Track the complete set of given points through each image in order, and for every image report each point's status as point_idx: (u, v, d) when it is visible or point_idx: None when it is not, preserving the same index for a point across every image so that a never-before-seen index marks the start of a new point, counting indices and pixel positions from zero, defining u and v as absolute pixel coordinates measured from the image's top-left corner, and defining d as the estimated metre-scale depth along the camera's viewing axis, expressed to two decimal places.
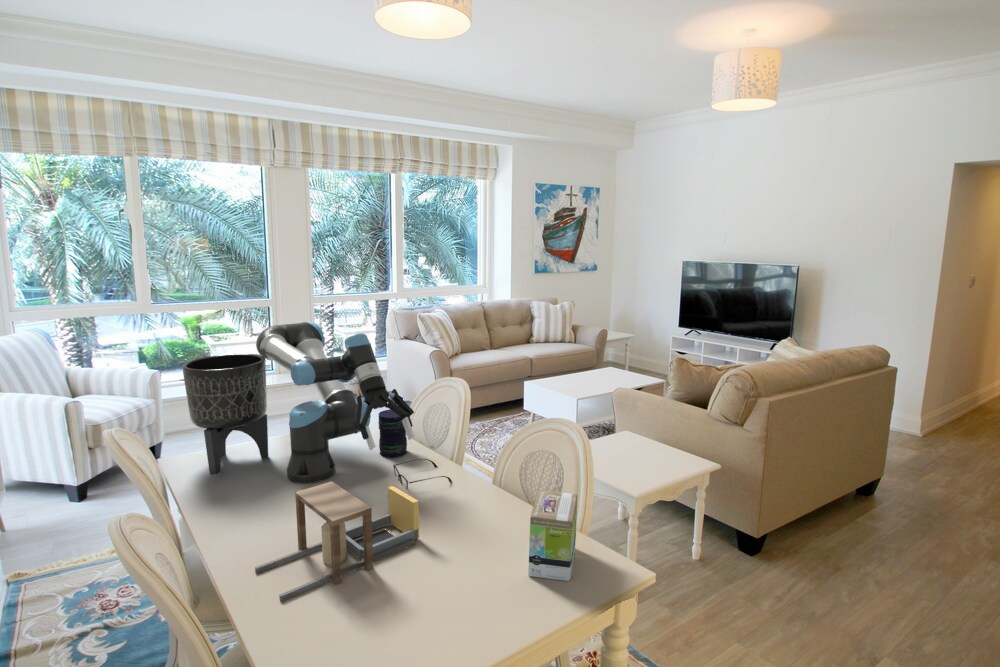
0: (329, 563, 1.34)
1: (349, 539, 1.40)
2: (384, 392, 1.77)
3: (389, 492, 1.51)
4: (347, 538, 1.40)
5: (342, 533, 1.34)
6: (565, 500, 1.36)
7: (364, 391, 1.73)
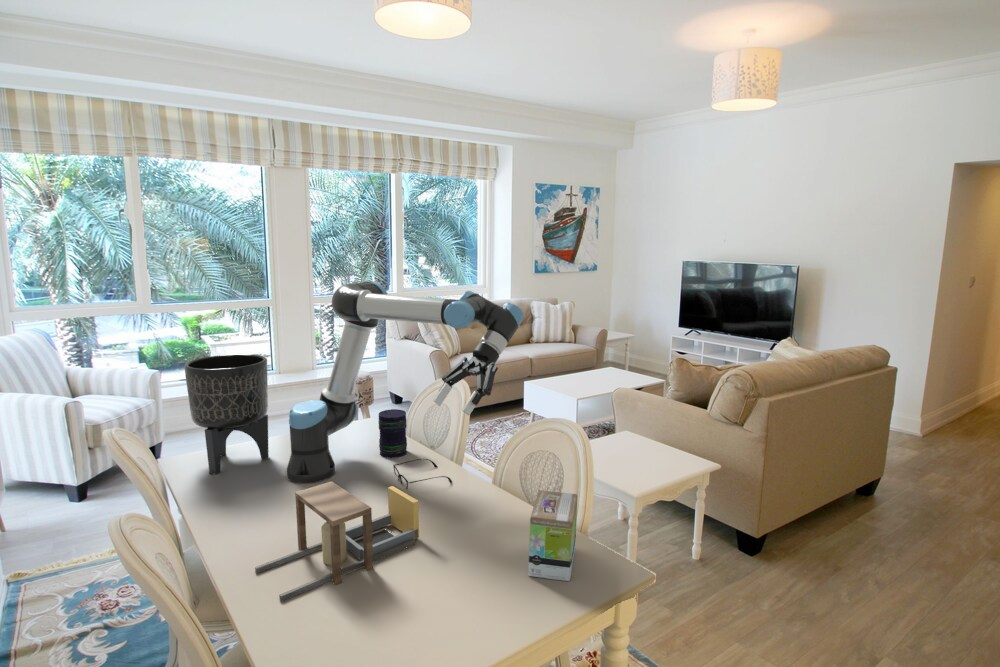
0: (329, 563, 1.34)
1: (349, 539, 1.40)
2: None
3: (389, 492, 1.51)
4: (347, 538, 1.40)
5: (342, 533, 1.34)
6: (565, 500, 1.36)
7: (492, 361, 1.65)
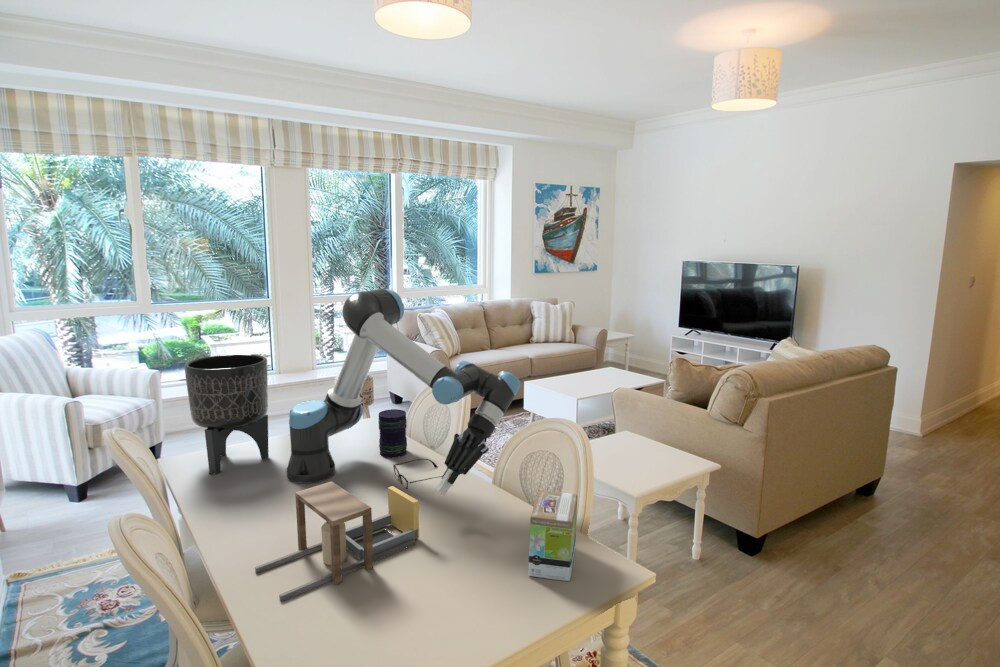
0: (329, 563, 1.34)
1: (349, 539, 1.40)
2: None
3: (389, 492, 1.51)
4: (347, 538, 1.40)
5: (342, 533, 1.34)
6: (565, 500, 1.36)
7: (488, 435, 1.60)
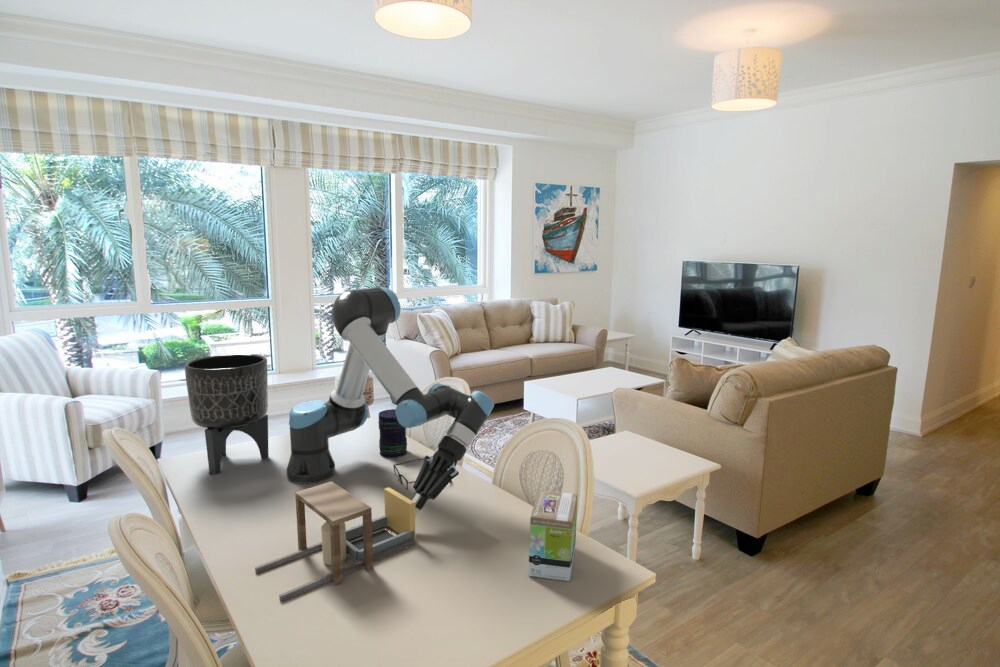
0: (329, 563, 1.34)
1: None
2: None
3: (385, 493, 1.50)
4: None
5: (342, 533, 1.34)
6: (565, 500, 1.36)
7: (459, 458, 1.54)
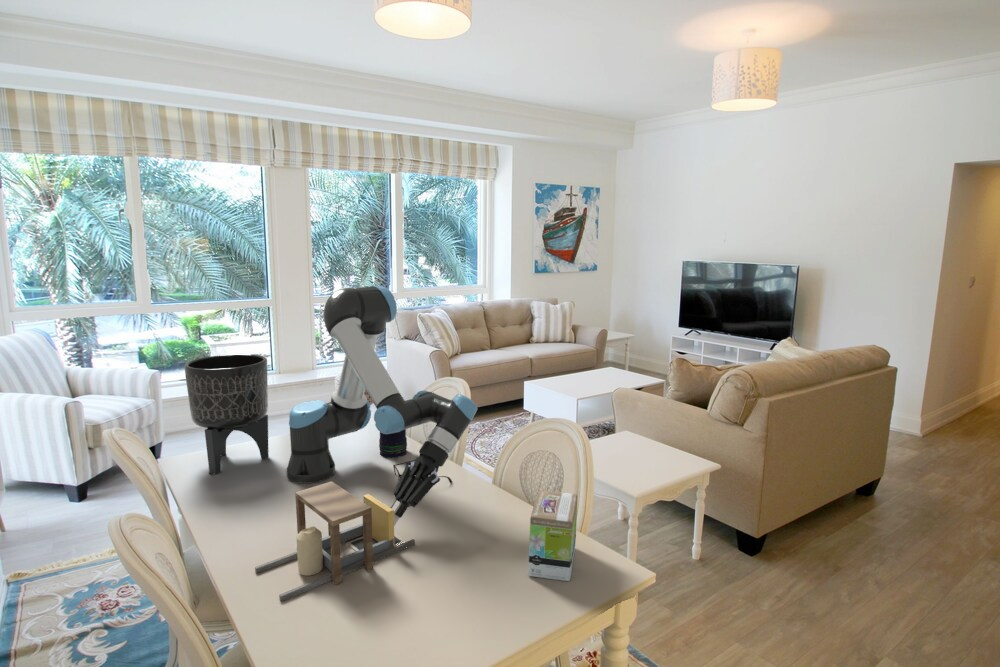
0: (305, 573, 1.29)
1: None
2: None
3: (364, 500, 1.46)
4: None
5: (318, 542, 1.30)
6: (565, 500, 1.36)
7: (440, 464, 1.50)
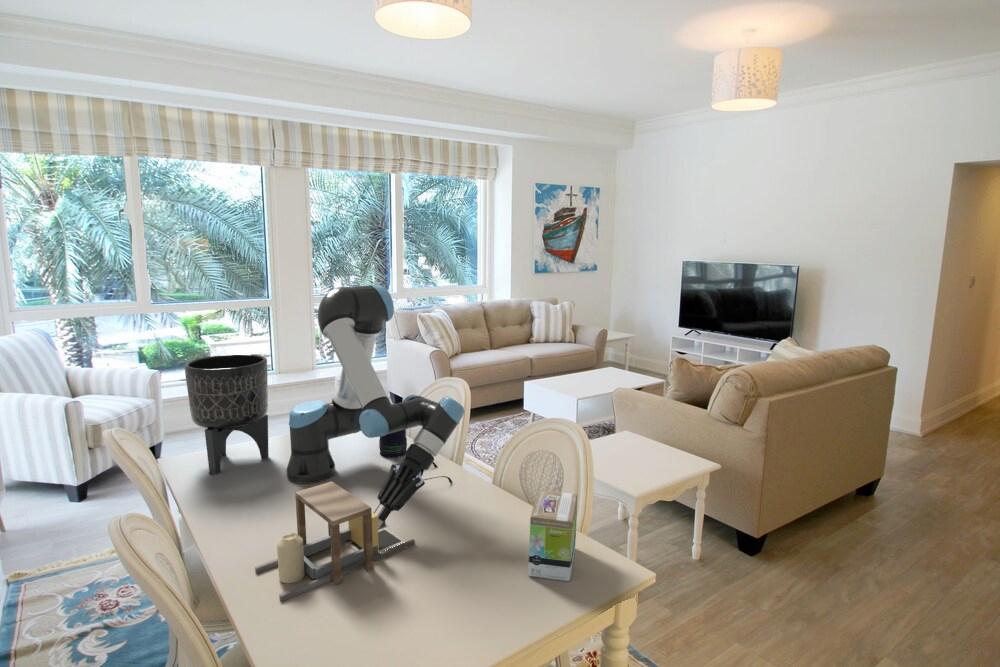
0: (285, 581, 1.26)
1: None
2: None
3: None
4: None
5: (299, 549, 1.27)
6: (565, 500, 1.36)
7: (425, 467, 1.47)
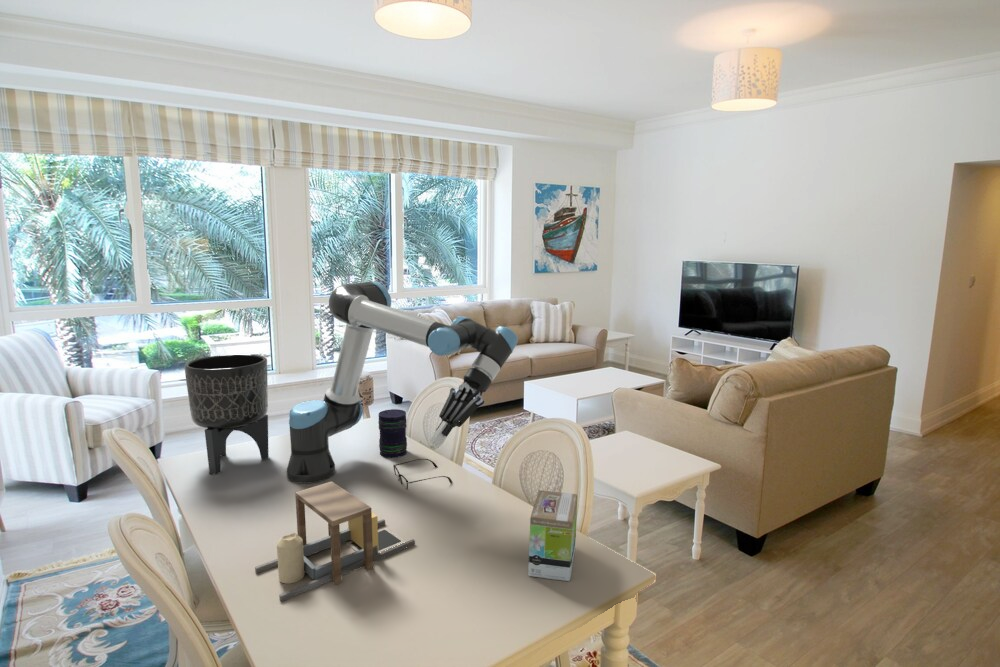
0: (285, 581, 1.26)
1: None
2: None
3: None
4: None
5: (299, 550, 1.27)
6: (565, 500, 1.36)
7: (484, 388, 1.58)
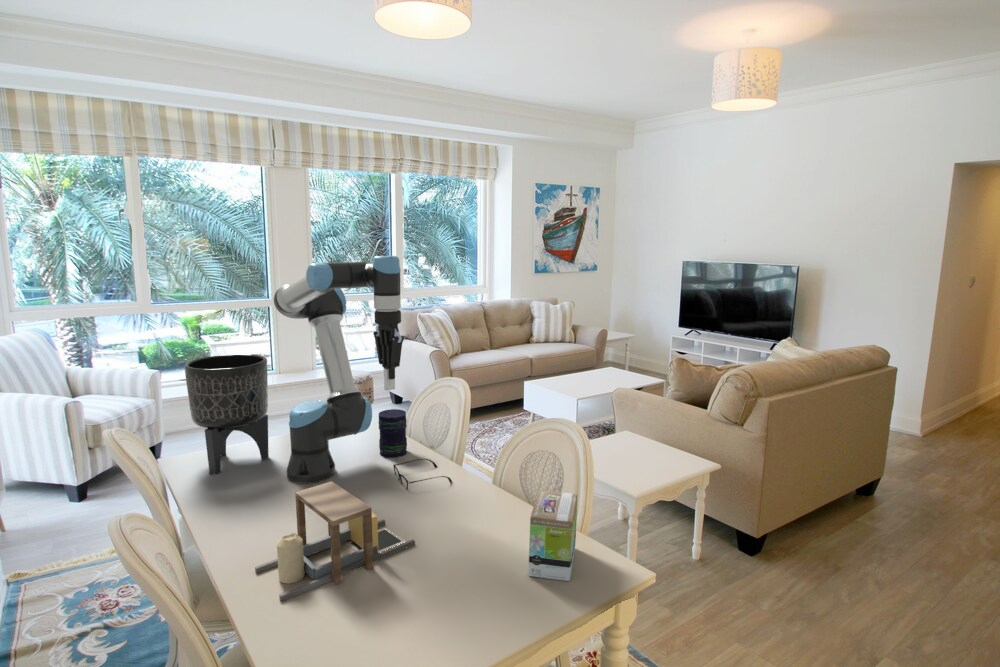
0: (285, 581, 1.26)
1: None
2: None
3: None
4: None
5: (299, 550, 1.27)
6: (565, 500, 1.36)
7: (397, 323, 1.62)
